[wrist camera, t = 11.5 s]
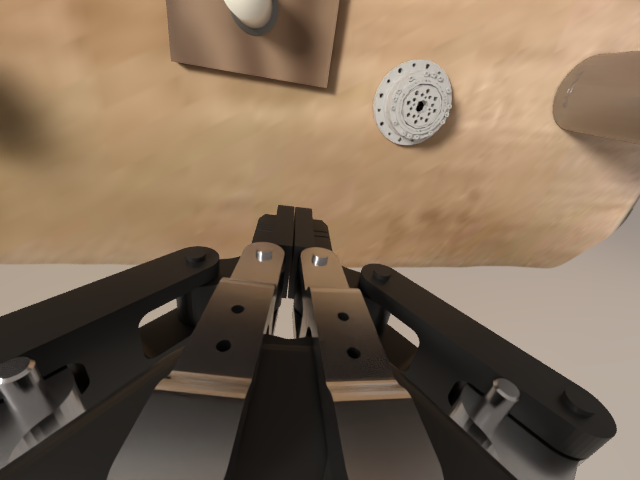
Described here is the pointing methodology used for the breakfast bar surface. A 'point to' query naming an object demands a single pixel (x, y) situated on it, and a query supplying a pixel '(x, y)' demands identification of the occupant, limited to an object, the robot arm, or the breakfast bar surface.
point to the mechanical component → (412, 102)
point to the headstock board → (256, 39)
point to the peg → (251, 11)
